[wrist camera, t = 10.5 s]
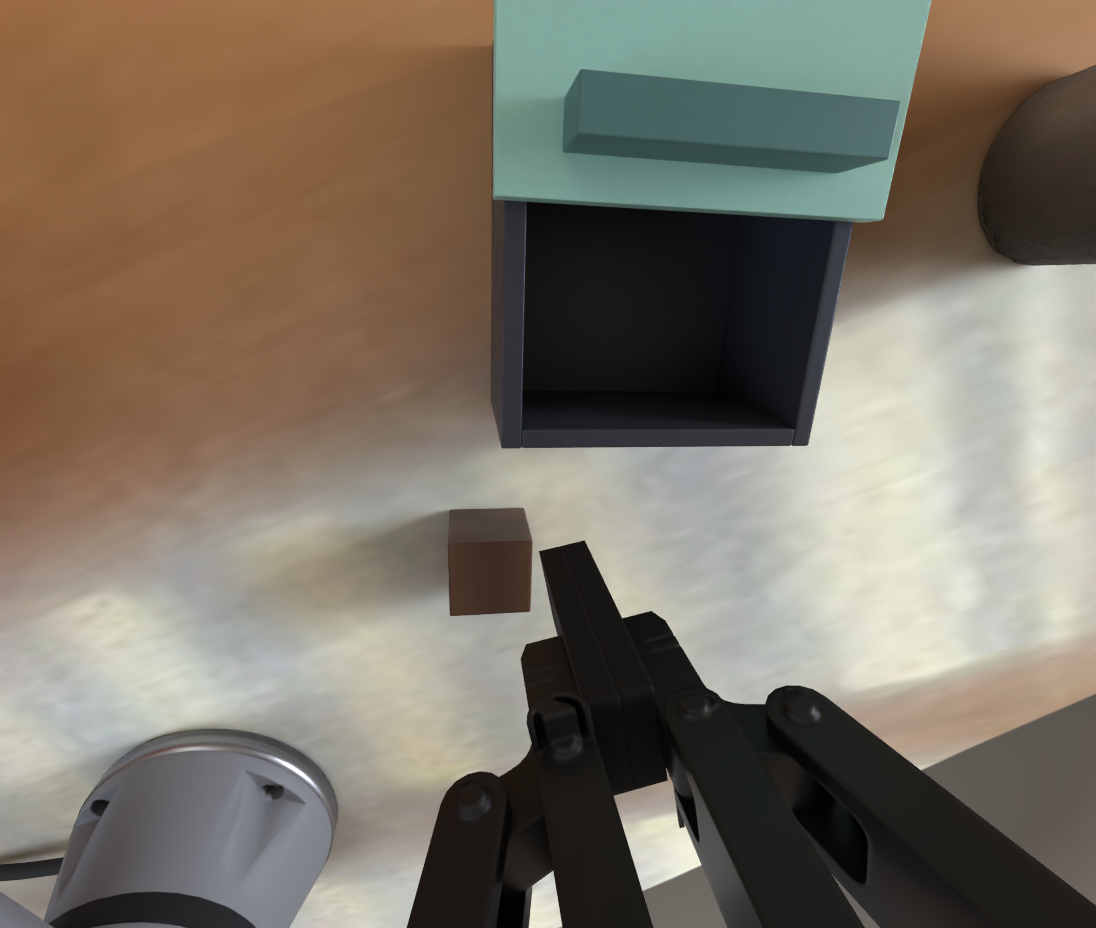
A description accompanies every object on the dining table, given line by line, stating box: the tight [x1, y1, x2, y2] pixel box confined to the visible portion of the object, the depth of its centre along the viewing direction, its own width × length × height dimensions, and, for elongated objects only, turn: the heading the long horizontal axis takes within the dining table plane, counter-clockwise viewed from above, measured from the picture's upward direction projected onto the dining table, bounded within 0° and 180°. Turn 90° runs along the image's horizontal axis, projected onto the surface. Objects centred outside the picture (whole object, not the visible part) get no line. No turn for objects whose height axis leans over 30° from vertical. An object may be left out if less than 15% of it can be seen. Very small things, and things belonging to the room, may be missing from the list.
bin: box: [491, 45, 854, 448], centre depth 24 cm, size 14×17×9 cm
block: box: [448, 508, 533, 616], centre depth 31 cm, size 4×4×4 cm
